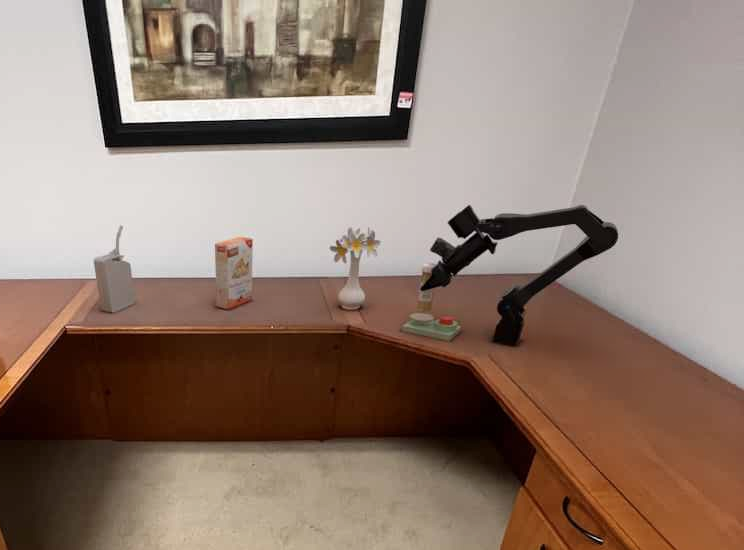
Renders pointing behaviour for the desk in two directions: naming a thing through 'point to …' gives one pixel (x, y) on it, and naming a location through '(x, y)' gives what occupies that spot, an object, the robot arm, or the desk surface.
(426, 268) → the sprinkles bottle
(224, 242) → the cracker box
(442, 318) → the button
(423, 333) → the warmer
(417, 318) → the plate
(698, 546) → the desk surface
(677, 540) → the desk surface
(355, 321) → the desk surface
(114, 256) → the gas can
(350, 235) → the flower vase
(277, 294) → the desk surface
